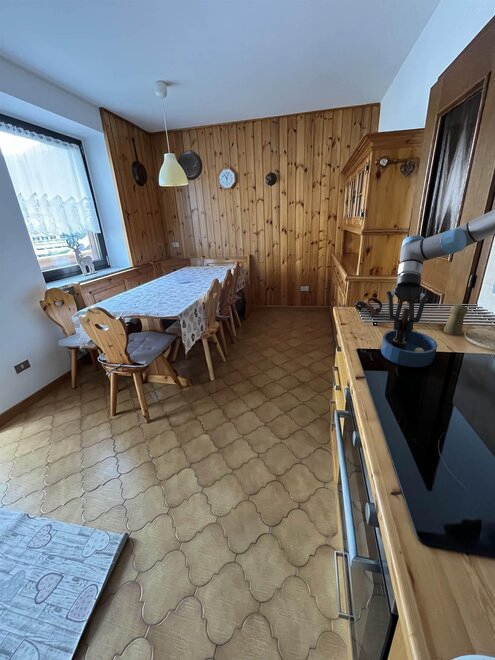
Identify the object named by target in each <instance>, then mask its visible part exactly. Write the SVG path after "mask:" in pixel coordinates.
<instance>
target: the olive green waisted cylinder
mask: <svg viewBox="0 0 495 660" xmlns="http://www.w3.org/2000/svg"><path fill="white" fill-rule="evenodd" d="M467 313H468V308H467V306H465V305H462V304H454V305H452V306H451V308H450V315H449V317H448V319H447V321H446V323H445V326H444V327H443V332H444V333H446V334H448V335H452V336H460V335H462V333H463V327H464V319H465V316H466V314H467Z"/></svg>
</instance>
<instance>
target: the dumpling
mask: <svg viewBox="0 0 495 660" xmlns="http://www.w3.org/2000/svg"><path fill="white" fill-rule="evenodd" d="M414 352H424V350H423V349H422V348H416V349H415V350H414Z"/></svg>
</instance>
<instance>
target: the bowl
mask: <svg viewBox="0 0 495 660" xmlns="http://www.w3.org/2000/svg"><path fill="white" fill-rule="evenodd" d="M396 331H397V330H394V329H393V330H389V331H387V332H384V334H383V335H382V338H381V339H382V340H381V344H380V353H381V355H382V356H383V357H384V358H385V359H386V360H388V361H390V362H392V363H394V364H395V365H400V366H404V367H409V368H424V367H428V366H430V365H431V364H433V362H434V360H435V356H436V353H437V349H438V345H439V344H438V342H437V341H436V340H435V339H434V338H433V337H431V336H429V335H427V334H426V333H422V332H419V331H415V330H412V332H409V335H408V340H407V344H406V348H405V350H402V349H399V348H397V347H394V346H393V345H392V342H393V338H395V337H396ZM404 339H405V335H404ZM416 348H422V349H423V350H424V352H414V350H415V349H416Z"/></svg>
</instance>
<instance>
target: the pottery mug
mask: <svg viewBox="0 0 495 660" xmlns="http://www.w3.org/2000/svg"><path fill="white" fill-rule="evenodd" d="M371 301H373V303H376V304H378V307H374V306H373V305H372V304H371ZM354 308H355V309H356V310H357V311H358V312H359V313H361V312H362V311H363V309H365V310H369V311H370V314H369V316H370V317H375V316H376V315H378V314H380V313H381V312H382V308H383V303H382V302H381V300H379V298H376V297H369V298H367V299H364V300H362V301H361V300H357V301H356V302H355V303H354ZM374 308H375V309H374Z"/></svg>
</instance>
